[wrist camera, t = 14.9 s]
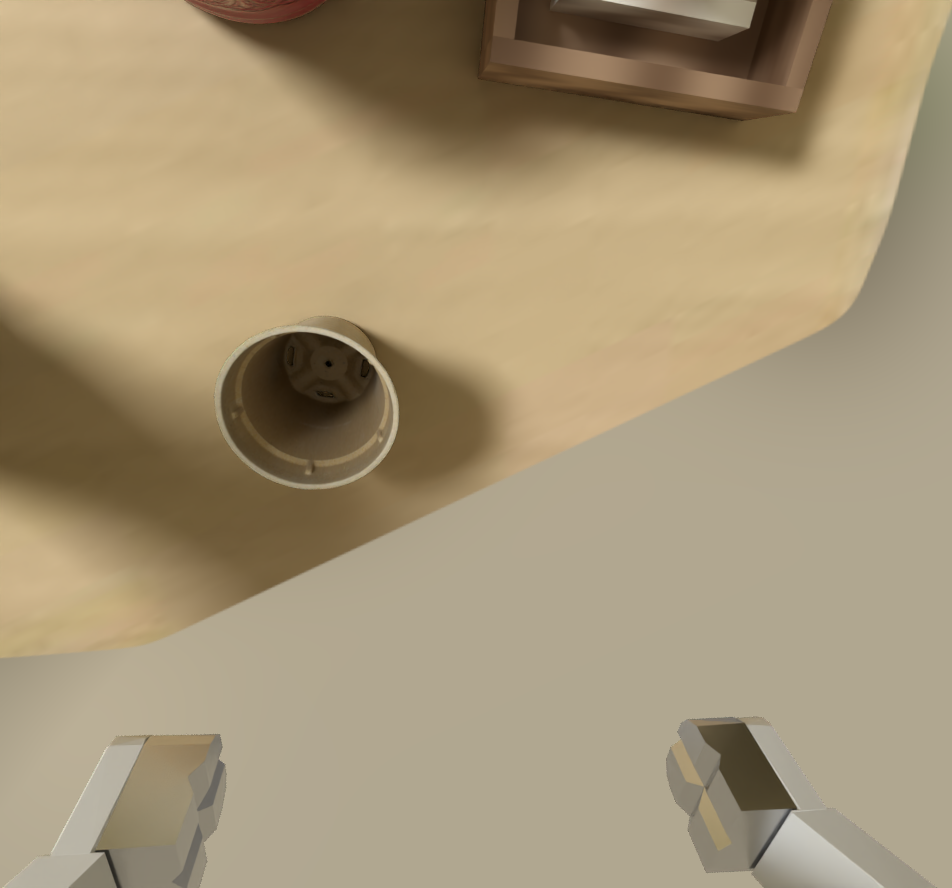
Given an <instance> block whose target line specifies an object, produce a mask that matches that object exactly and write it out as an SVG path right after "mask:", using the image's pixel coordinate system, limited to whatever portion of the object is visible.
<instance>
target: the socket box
mask: <svg viewBox="0 0 952 888" xmlns="http://www.w3.org/2000/svg"><path fill="white" fill-rule="evenodd" d="M832 1H833V0H486V2H485V12H484V22H483V33H482V43H481V53H480V63H479V73H478V79H483V80H490V81H496V82H502V83H508V84H515V85H521V86H527V87H534V88H540V89H546V90H552V91H559V92H565V93H571V94H578V95H584V96H590V97H596V98H603V99H609V100H615V101H621V102H628V103H634V104H640V105H647V106H653V107H659V108H665V109H672V110H678V111H684V112H691V113H697V114H703V115H709V116H716V117H722V118H728V119H734V120H741V121H744V120H750V119H757V118H763V117H769V116H776V115H782V114H789V113H795V112H796V111H797V108H798V105H799V102H800V99H801V96H802V93H803V90H804V87H805V84H806V81H807V78H808V75H809V72H810V69H811V66H812V63H813V59H814V56H815V53H816V50H817V47H818V44H819V41H820V38H821V35H822V32H823V29H824V26H825V23H826V20H827V17H828V14H829V10H830V7H831V4H832Z"/></svg>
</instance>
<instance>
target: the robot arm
mask: <svg viewBox="0 0 952 888" xmlns="http://www.w3.org/2000/svg"><path fill="white" fill-rule="evenodd" d="M678 734H679V736H680V738H681V740H680V741H678V742H677V743H676V744H674V745H673V746H672V747H670V750H669V754H668V756H667V759H666V766H667V777H668V781H669V786H670V789H671V791H672V794H673V796H674V799H675V801H676V803H677V804H678V805H679V806H680V807H681V808H682V809H683V810H684V811H685V812H686V813H687V814H688V815H689V816H690V819H689V826H688V832H689V834H690V836H691V839H692V841H693V844H694V846H695V848H696V851H697V852H698V855H699V857H700V860H701V862H702V864H703V866H704V869H705V871H706V872H707V873H711V872H712V873H713V872H734V871H753V872H752V875H753V876H754V877H755V878H756V880H757V881H758V882H759V883H760V884H761V885H762V886H763V887H764V888H936V887H935V886H934V885H933V884H931V883H930V882H929V881H928V880H926V879H925V878H924V877H922V876H921V875H920V874H919V873H917V872H916V871H915V870H913V869H912V868H911V867H910V866H908V865H907V864H906V863H904V862H903V861H902V860H900V859H899V858H898V857H897V856H895V855H894V854H893V853H891V852H890V851H889V850H888V849H886V848H885V847H884V846H882V845H881V844H880V843H879V842H877V841H876V840H875V839H874V838H872V837H871V836H870V835H868V834H867V833H866V832H865V831H863V830H862V829H861V828H859V827H858V826H857V825H856V824H854V823H853V822H852V821H850V820H849V819H848V818H846V817H845V816H844V815H843V814H841V813H840V812H838V811H837V810H836V809H835V808H826V806H825V805H824V804H823V802H822V800H821V799H820V797H819V796H818V794H817V793H816V791H815V790H814V788H813V787H812V785H811V784H810V782H809V781H808V779H807V778H806V776H805V775H804V773H803V772H802V770H801V769H800V767H799V766H798V764H797V763H796V761H795V760H794V758H793V757H792V755H791V754H790V752H789V751H788V749H787V748H786V746H785V745H784V743H783V742H782V740H781V739H780V737H779V736H778V734H777V733H776V731H775V730H774V728H773V727H772V725H771V724H770V723H769V722H768V721H767V720H765V719H764V718H762V717H743V718H734V717H725V718H706V719H688V720H685V721H684V722H682V723H681V725H680V727H679V729H678ZM221 750H222V742H221V738H220V734H207V735H206V734H205V735H160V736H159V735H156V736H154V735H142V736H140V735H139V736H116V738H115V739H114V740H113V741H112V742H111V743H110V744H109V745H108V747H107V748H106V749H105V751H104V753H103V755H102V757H101V759H100V761H99V763H98V765H97V766H96V768H95V770H94V772H93V774H92V776H91V778H90V780H89V782H88V784H87V785H86V787H85V789H84V791H83V793H82V795H81V797H80V799H79V801H78V802H77V804H76V806H75V808H74V810H73V812H72V814H71V816H70V818H69V820H68V822H67V823H66V825H65V827H64V829H63V831H62V833H61V835H60V837H59V839H58V841H57V842H56V844H55V846H54V848H53V850H52V852H51V854H50V855H42V856H38V857H36V858H35V859H34V860H33V861H32V862H31V863H30V864H29V865H27V866H26V867H25V868H24V869H23V870H22V871H21V872H20V873H18V874H17V875H16V876H15V877H14V878H13V879H12V880H10V881H9V882H8V883H7V884H6V885H5V886H4V887H3V888H199V887H200V884H201V880H202V877H203V874H204V870H205V867H206V863H207V857H206V852H205V846H204V842H205V841H206V840H207V839H208V838H209V836H210V835H211V834H212V833H213V832H214V831H215V830H216V829H217V826H218V822H219V818H220V815H221V811H222V806H223V801H224V796H225V790H226V769H225V764H224V763H223V762H221V761H220V760H219V756H220V753H221Z"/></svg>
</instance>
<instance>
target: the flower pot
mask: <svg viewBox="0 0 952 888" xmlns="http://www.w3.org/2000/svg"><path fill="white" fill-rule="evenodd" d="M290 347H294V358H293V363H294V364H293V365H289V363H288V360H287V351H288V349H289V348H290ZM363 360H368V362H369V363H370V367H369V370H368V373H367V376H366V377H363V376H361V369H362V363H363V362H362V361H363ZM327 361H330V362H331V363H332V366H331V367H328V366H326V362H327ZM318 391H320V392H325V391H327V392H328V393H331V394H333V396H334V397H325V396H321V395H319V394H318V393H317V392H318ZM214 395H215V396H214V399H215V401H214V403H215V412H216V417H217V421H218V424H219V427H220V430H221V432H222V434H223V436H224V439H225V440H226V442H227V443H228V445H229V446H230V448H231V449H232V451H233V452H234V453H235V454H236V455H237V456H238V457H239V458H240V459H241V460H242V461H243V462H244V463H245V464H246V465H247V466H249V467H250V468H251V469H252V470H254V471H255V472H256V473H258V474H260V475H262V476H263V477H265V478H267V479H269V480H271V481H273V482H276V483H278V484H282V485H285V486H289V487H292V488H299V489H311V490H313V489H329V488H335V487H340V486H342V485H346V484H349V483H351V482H353V481H356V480H357V479H360V478H361V477H363V476H365V475H367V474H368V473H369V472H370V471H372V470H373V469H374V468H375V467H377V466H378V465H379V464H380V462H381V461H382V460H383V459H384V458H385V456H386V455H387V454H388V452H389V450H390V449H391V446H392V445H393V442H394V440H395V438H396V434H397V430H398V425H399V403H398V398H397V393H396V390H395V387H394V385H393V382H392V380H391V378H390V376H389V374H388V373H387V371H386V370H385V368H384V367H383V365H382V364H381V363H380V362H379V361H378V359H377V358H376V354H375V351H374V348H373V346H372V344H371V342H370V341H369V339H368V338H367V337H366V335H365V334H364V333H363V332H362V331H361V330H360V329H359V328H357V327H356V326H355V325H353V324H352V323H350V322H348V321H346V320H343V319H340V318H337V317H331V316H318V317H312V318H309V319H306V320H304V321H302V322H300V323H298V324H296V325H287V326H280V327H276V328H272V329H269V330H266V331H263V332H261V333H258V334H257V335H255V336H253V337H251V338H249V339H248V340H246V341H245V342H244V343H242V344H241V345H240V346H239V347H238V348H237V349H236V350H234V352H233V353H232V354H231V355H230V356H229V357H228V358H227V360H226V362H225V363H224V365H223V367H222V369H221V371H220V373H219V375H218V378H217V382H216V387H215V394H214Z"/></svg>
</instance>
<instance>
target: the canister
mask: <svg viewBox="0 0 952 888" xmlns="http://www.w3.org/2000/svg"><path fill="white" fill-rule="evenodd" d="M185 1H186V2H188V3H190V4H192V5H193V6H195V7H197V8H199V9H201V10H203V11H205V12H208V13H210V14H213V15H215V16H218V17H221V18H224V19H228V20H231V21H236V22H242V23H251V24H268V23H279V22H284V21H289V20H292V19H296V18H298V17H301V16H303V15H306V14H308V13H309V12H311V11H313V10H315V9H316V8H318V7H319V6H321V5H322V4H324V3H325V2H326V1H327V0H185Z"/></svg>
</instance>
